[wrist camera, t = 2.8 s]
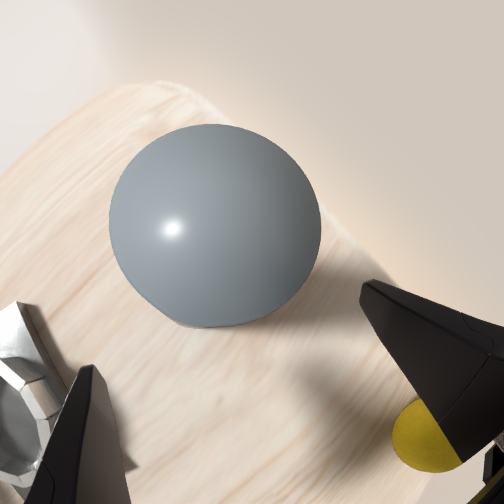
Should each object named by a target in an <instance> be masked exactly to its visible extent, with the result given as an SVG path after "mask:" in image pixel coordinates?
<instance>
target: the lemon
mask: <svg viewBox="0 0 504 504" xmlns="http://www.w3.org/2000/svg"><path fill="white" fill-rule="evenodd" d="M392 443H393V447H394V450H395V452H396V454H397V455H398V457H399V458H400V459H401V460H402V461H403V462H404V463H406V464H407V465H409V466H410V467H412V468H414V469H416V470H419V471H424V472H431V473H441V472H446V471H450V470H453V469H454V468H456V467H458V466H460V465H462V464H463V463H462V462H461V461H460V459H459V457H458V456H457V454H456V453H455V451H454V449H453V448H452V446H451V445H450V443H449V441H448V440H447V438H446V437H445V435H444V434H443V432H442V430H441V429H440V427H439V426H438V423H437V422H436V421H435V419H434V418H433V416H432V415H431V413H430V412H429V410H428V409H427V407H426V406H425V404H424V403H423V401H422V400H421V398H420V399H418V400H416V401H414V402H412V403H411V404H409V405H408V406H407V407H406V408H405V409H404V410H403V411H402V412H401V413H400V415H399V416H398V418H397V419H396V422H395V424H394V427H393V431H392Z"/></svg>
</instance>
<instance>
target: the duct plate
mask: <svg viewBox="0 0 504 504" xmlns="http://www.w3.org/2000/svg"><path fill="white" fill-rule="evenodd" d="M68 394H69V391H68V390H67V388H66V386H65V385H64V383H63V381H62V380H61V378H60V376H59V374H58V373H57V371H56V369H55V367H54V365H53V364H52V362H51V360H50V358H49V356H48V354H47V352H46V350H45V348H44V346H43V344H42V342H41V340H40V338H39V336H38V334H37V332H36V330H35V328H34V325H33V323H32V321H31V319H30V316H29V314H28V312H27V309H26V307H25V305H24V303H21V302H16V301H15V302H14V303H12V304H11V305H10V306H8V307H7V308H5V309H4V310H3V311H1V312H0V481H3V482H6V483H9V484H11V485H12V486H13V487H14V488H15V490H16V491H17V492H18V494H19V495H20V496H21V497H22V499H23V500H24V501H25V499H26V497H27V495H28V492H29V490H30V488H31V485H32V483H33V480H34V478H35V475H36V472H37V470H38V467H39V464H40V462H41V460H42V456H43V454H44V451H45V448H46V446H47V443H48V441H49V438H50V436H51V433H52V431H53V428H54V426H55V423H56V421H57V419H58V416H59V414H60V412H61V409H62V407H63V405H64V403H65V400H66V398H67V396H68ZM42 461H43V460H42Z"/></svg>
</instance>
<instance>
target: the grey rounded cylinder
mask: <svg viewBox="0 0 504 504" xmlns="http://www.w3.org/2000/svg"><path fill="white" fill-rule="evenodd" d="M109 231H110V239H111V244H112V248H113V251H114V255H115V257H116V260H117V262H118V264H119V266H120V269H121V270H122V272H123V273H124V275H125V277H126V278H127V280H128V281H129V283H130V284H131V285H132V286H133V287H134V288H135V290H136V291H137V292H138V293H139V294H140V295H141V296H142V297H143V298H145V299H146V300H147V301H148V302H149V303H150V304H152V305H153V306H154V307H155V308H157V309H158V310H159V311H161V312H162V313H163V314H165V315H166V316H167V317H169V318H170V319H171V320H173V321H174V322H176V323H177V324H179V325H182V326H185V327H189V328H205V327H219V326H229V325H238V324H242V323H246V322H250V321H253V320H256V319H258V318H261V317H263V316H266V315H268V314H269V313H271V312H273V311H274V310H276V309H278V308H279V307H281V306H282V305H283V304H284V303H286V302H287V301H288V300H289V299H291V298H292V296H293V295H294V294H295V293H296V292H297V291H298V290H299V289H300V288H301V286H302V285H303V283H304V282H305V281H306V279H307V278H308V276H309V274H310V272H311V270H312V268H313V266H314V263H315V261H316V258H317V255H318V251H319V246H320V241H321V216H320V211H319V206H318V202H317V199H316V196H315V193H314V190H313V188H312V186H311V184H310V182H309V180H308V178H307V177H306V175H305V174H304V172H303V171H302V169H301V168H300V167H299V166H298V164H297V163H296V162H295V161H294V160H293V159H292V158H291V157H290V156H289V155H288V154H287V153H286V152H285V151H284V150H283V149H281V148H280V147H279V146H277V145H276V144H275V143H273V142H272V141H270V140H268V139H267V138H265V137H263V136H261V135H258V134H256V133H254V132H251V131H249V130H245V129H243V128H239V127H234V126H229V125H220V124H203V125H195V126H189V127H185V128H181V129H178V130H175V131H173V132H170V133H168V134H166V135H164V136H162V137H160V138H158V139H156V140H155V141H153V142H152V143H150V144H149V145H147V146H146V147H145V148H144V149H143V150H142V151H140V152H139V153H138V154H137V155H136V156H135V157H134V158H133V160H132V161H131V162H130V163H129V164H128V166H127V167H126V169H125V170H124V172H123V173H122V175H121V177H120V179H119V181H118V183H117V185H116V187H115V190H114V194H113V197H112V200H111V206H110V212H109Z"/></svg>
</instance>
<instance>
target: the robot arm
mask: <svg viewBox="0 0 504 504" xmlns="http://www.w3.org/2000/svg"><path fill="white" fill-rule="evenodd" d="M359 302H360V306H361V308H362V310H363V311H364V313H365V315H366V317H367V318H368V320H369V322H370V323H371V325H372V327H373V329H374V330H375V332H376V334H377V336H378V337H379V339H380V340H381V342H382V343H383V345H384V346H385V348H386V349H387V350H388V352H389V353H390V355H391V356H392V358H393V359H394V360H395V362H396V363H397V365H398V366H399V368H400V369H401V370H402V372H403V373H404V375H405V376H406V378H407V379H408V381H409V382H410V383H411V385H412V386H413V388H414V389H415V391H416V392H417V394H418V395H419V397H420V398H421V400H422V401H423V403H424V404H425V406H426V407H427V409H428V410H429V412H430V413H431V415H432V416H433V418H434V419H435V421H436V422H437V423H438V426H439V427H440V429H441V430H442V432H443V434H444V435H445V437H446V438H447V440H448V441H449V443H450V445H451V446H452V448H453V449H454V451H455V453H456V454H457V456H458V457H459V459H460V461H461V462H462V463H464V462H466V461H467V460H468V459H470V458H471V457H472V456H474V455H475V454H476V453H478V452H479V451H480V450H481V449H483V448H484V447H485V446H486V445H487V444H489V443H490V442H491V441H492V440H494V442H495V444H494V445H493V446H492V447H491V448H490V449H489V450H488V451H487V453H486V454H485V461H484V473H483V481H484V483H485V484H486V485H485V487H484V488H483V489H482V490H481V491H480V492H479V493H478V494H477V495H476V496H475V497H474V498H472V499H471V500H470V502H468V503H467V504H504V327H502V326H499V325H496V324H492V323H489V322H486V321H483V320H480V319H477V318H475V317H472V316H469V315H467V314H464V313H462V312H461V313H460V312H459V311H456V310H454V309H451V308H449V307H446V306H444V305H441V304H438V303H436V302H433V301H431V300H428V299H425V298H423V297H420V296H418V295H415V294H412V293H410V292H407V291H404V290H402V289H399V288H397V287H394V286H391V285H389V284H386V283H383V282H381V281H378V280H375V279H371V280H369V281H366V282H364V283H363V285H362V289H361V294H360V299H359ZM42 460H43V461H42ZM42 460H41V462H40V464H39V467H38V470H37V472H36V475H35V478H34V480H33V483H32V485H31V488H30V490H29V492H28V495H27V497H26V499H25V502H24V504H131V500H130V496H129V492H128V487H127V483H126V478H125V473H124V468H123V462H122V457H121V451H120V445H119V439H118V433H117V428H116V423H115V419H114V415H113V411H112V407H111V403H110V398H109V394H108V389H107V385H106V382H105V380H104V378H103V377H102V375H101V374H100V373H99V371H98V370H97V368H96V367H95V366H94V365H93V364H91V365H86V366H82V367H81V368H80V370H79V372H78V374H77V376H76V378H75V381H74V383H73V385H72V387H71V389H70V391H69V394H68V396H67V398H66V400H65V403H64V405H63V407H62V409H61V412H60V414H59V416H58V419H57V421H56V423H55V426H54V428H53V431H52V433H51V436H50V438H49V441H48V443H47V446H46V448H45V451H44V454H43V456H42Z"/></svg>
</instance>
